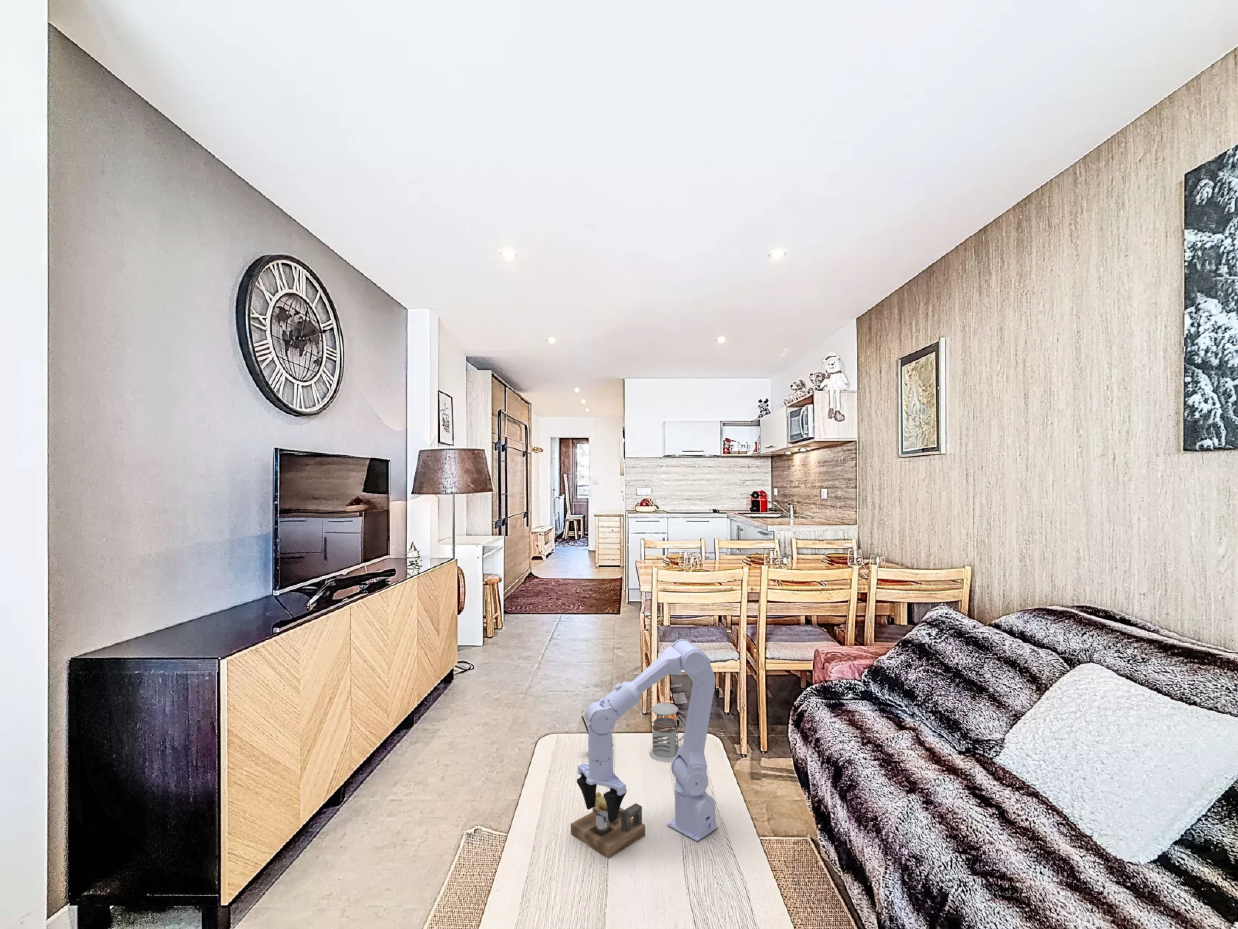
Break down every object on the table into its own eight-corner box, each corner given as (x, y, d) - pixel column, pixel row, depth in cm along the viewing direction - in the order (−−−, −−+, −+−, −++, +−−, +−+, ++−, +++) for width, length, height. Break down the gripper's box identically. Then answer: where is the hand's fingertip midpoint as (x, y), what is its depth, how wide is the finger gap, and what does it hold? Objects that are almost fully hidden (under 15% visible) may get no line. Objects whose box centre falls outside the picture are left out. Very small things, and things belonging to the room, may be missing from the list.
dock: (645, 835, 148) (644, 808, 148) (608, 858, 140) (608, 829, 140) (607, 813, 157) (607, 788, 157) (570, 834, 149) (570, 806, 149)
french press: (658, 744, 196) (657, 664, 196) (692, 752, 190) (691, 670, 190) (643, 757, 187) (642, 673, 187) (678, 766, 181) (677, 680, 181)
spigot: (611, 838, 147) (611, 812, 147) (604, 845, 144) (604, 819, 144) (600, 834, 149) (600, 809, 149) (593, 841, 146) (593, 815, 146)
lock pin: (620, 814, 152) (620, 804, 152) (613, 819, 150) (612, 808, 150) (598, 802, 158) (598, 792, 158) (590, 806, 156) (590, 795, 156)
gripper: (567, 751, 149) (568, 808, 149) (609, 772, 138) (610, 834, 138) (589, 742, 154) (590, 797, 154) (631, 761, 143) (633, 820, 143)
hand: (601, 813), depth 146 cm, fingers open, 7 cm apart
